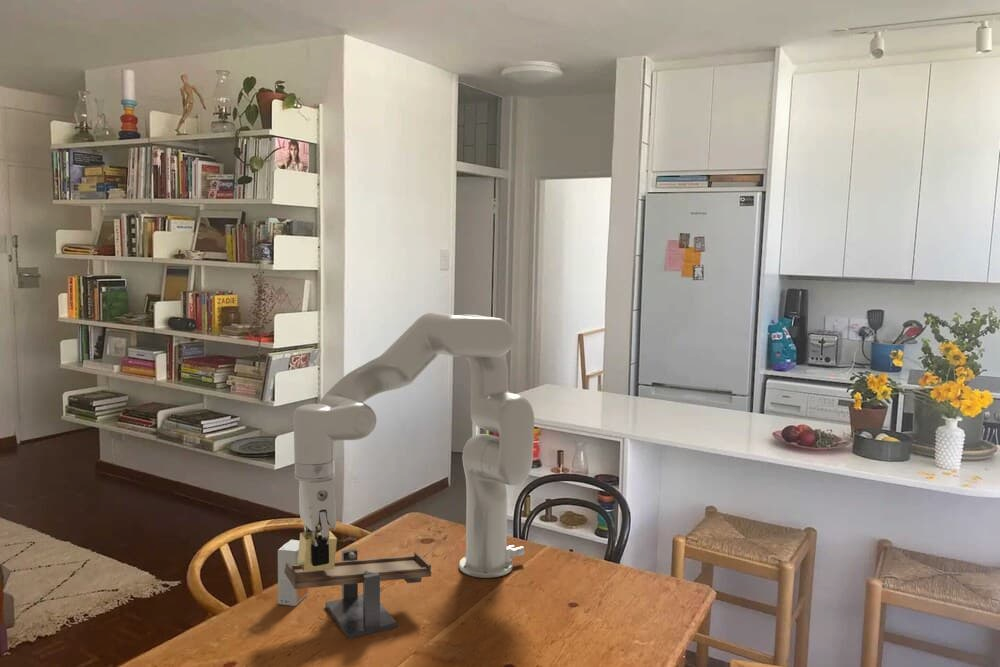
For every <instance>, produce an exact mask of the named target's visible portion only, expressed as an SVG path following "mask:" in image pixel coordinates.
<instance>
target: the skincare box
mask: <svg viewBox="0 0 1000 667" xmlns="http://www.w3.org/2000/svg"><path fill="white" fill-rule="evenodd" d="M299 541H300V539H299V540H297V539H290V540H289V541H287V542H286V543H284V544H283V545H282V546H281V547H280V548H279V549H277V603H278V605H283V606H284V605H285V606H291V607H296V606H298V605H299V603H301V602H302V600H304V599H305V598H306V597H307V596H308V595H309V588H302V589H295V588H294V587H293V585H292V584H291V582H290V581H289V579H288V578H287V576H286V574H285V573H284V570H285V567H286V563H287V562H289V563H290V565H299V564H298V563H297V562H298V551H299Z"/></svg>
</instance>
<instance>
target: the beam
mask: <svg viewBox="0 0 1000 667" xmlns="http://www.w3.org/2000/svg"><path fill="white" fill-rule="evenodd" d="M348 556H349V558H350V559H351V560H350V561H342V560H339V561H335V565H334V569H325V570H313V571H303V570H302V568H301V567H300V566H299V565H290V563H289V562H287V563H286V567H285V570H284V573H285V574H286V576H287V578H288V579H289V581H290V582H291V584H292V585H293V587H294V588H295V589H302V588H308V589H310V588H320V587H321V588H322V587H323V588H324V587H331V586H332V587H333V586H342V585H345V584H356V583H358V584H363V575H368V574H373V573H379V574H380V582H385V581H396V580H397V581H398V580H404V581H405V582H406V584H412V583H416V584H417V583H422V578H429V577H430V578H431V577H432V571H431V569H432V565H431V564H430V562H429V561H427V560H426V559H425V558H424V557H422V555H421V554H419V552H414V555H403V556H391V557H390V556H389V557H378V558H366V559H364V558H363V559H357V560H355V559H356V555H355V554H354V553H353V552H350V553H349V555H348Z"/></svg>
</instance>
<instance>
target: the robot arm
mask: <svg viewBox="0 0 1000 667" xmlns="http://www.w3.org/2000/svg"><path fill="white" fill-rule="evenodd" d="M514 332H515V331H514V329H513V327H512V326H511V324H510V323H509V322H508V321H506V320H505V319H503V318H499V317H492V316H484V315H479V314H465V313H464V314H459V315H458V314H457V315H455V314H449V313H441V312H427V313H424V314H423V315H421V316H419V317H418V318H417V319H416V320H415V321H414V322H413V323H412V324H411V326H409V327H408V328H407V329H406V330H405V331H404V332H403V333H402V334H401V336H399V337H398V338H397V339H396V340H395V341H394V342H393V343H392V344H391V345H390V346H389V347H387V349H386V350H385V351H384V352H383V353H382V354H380V355H379V356H378V357H376V358H374V359H371V360H369V361H367V362H366V363H364V364H363V365H360V366H358V367H357V368H355V369H354V370H351V371H350V372H348V373H347V374H345V375H344V376H343V377H342V378H341V379H339V380H338V381H337V382H336V383H335V384H334V385H333V386H332V387H331V388H330V389H329V390H328V391H327V392H326V393H325V394H324V395H323V396H322V398H321V399H320V401H319V402H318V403H309V404H304V405H300V406H298V407H296V409H295V410H294V412H293V443H294V444H293V448H294V450H293V451H294V454H293V455H294V478H295V480H297V481H298V486H299V487H298V510H299V517H300V519H301V521H302V522H303V524H304V526H303V533H305V532H312V534H313V546H312V565H313V566H319V565H324V564H328V563H329V537H330V533H329V531H330V528H331V530H335V529H336V527H337V513H336V512H337V510H336V501H335V500H336V499H335V498H336V497H335V496H336V495H335V490H334V489H335V488H334V482H333V481H334V480H333V478H334V477H335V476H336V472H335V471H336V469H335V468H336V466H335V465H336V464H335V463H336V462H335V461H336V460H335V442H337V441H338V442H339V441H358V440H362V439H364V438H365V439H366V438H367V437H368V436H370V435H371V434H372V432H374V430H375V428H376V425H377V414H376V413H375V410H374V409H373V408H372V407H371V406H369V405H368V404H366V403H364V402H366V401H367V400H369V399H371V398H372V397H374V396H376V395H379V394H381V393H385V392H389V391H393V390H399V389H401V388H405V387H406V386H409V385H411V384H412V383H413V382H415V380H417V378H418V377H419V376H420V375H421V374H422V373H423V372H424V371H425V370H426V369H427V368H428V366H429V365H430V364H431V363H433V361H434V360H436V358H437V357H438V356H439V355H445V356H450V357H451V356H452V357H458V358H466V360H467V361H468V364H469V367H470V379H471V380H470V406H469V407H470V408H469V410H470V413H469V415H470V420H471V422H472V423H473V425H475V426H476V427H478V428H480V429H482V430H484V431H488V432H492V433H495V434H498V435H499V436H496V435H493V434H489V433H488V434H486V433H479V434H475V435H474V436H471V437H470V438H469V439H468V440H467V441H466V442H465V444H464V447H463V450H462V457H461V458H462V465H463V472H464V475H465V485H466V486H465V487H466V488H465V489H466V490H465V491H466V494H465V495H466V501H465V502H466V504H465V505H466V510H465V512H466V513H465V518H466V519H465V556H463V557H462V558H461V559H460V560H459V564H458V566H459V570H460V571H461V572H462V573H463V574H466V575H467V576H470V577H475V578H483V579H493V578H498V577H501V576H502V577H503V576H505V575H507V574H509V573H510V572H512V570H513V569H514V563H513V560H512V559H514V558H515V557H516V556H517V557H518V556H523V555H525V553H526V550H525V547H524V546H517V547H515V545H514V544H512V545H507V543H508V542H507V540H508V539H507V538H508V537H507V536H508V529H507V528H508V491H507V490H508V489H507V485H508V486H518V485H521V484H522V483H524V482H525V481H526V480H527V479H528V477H529V476H530V473H531V471H532V467H533V462H534V461H533V458H534V438H535V412H534V409H533V407H532V404H531V403H530V402H529V400H528V399H527V398H526V397H525V396H523V395H520V394H517V393H512V392H510V390H509V366H508V362H507V361H508V360H507V359H506V356H505V355H506V354H507V353H509V351H510V350H511V349H512V347H513V346H514V342H515V333H514ZM329 527H330V528H329ZM320 532H321V534H320V535H319V536H318V538H317V533H320Z"/></svg>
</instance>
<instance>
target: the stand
mask: <svg viewBox="0 0 1000 667" xmlns="http://www.w3.org/2000/svg"><path fill="white" fill-rule="evenodd" d="M350 552H353V553H354V554H355V555H356V559H355V560H358V549H357V548H352V549H351V548H350V549H346V550H341V561H350V560H351V559H350V558H349V556H348V555H349V553H350ZM358 584H359V583H356V584H345V585H341V595H342V598H341V599H335V600H330V601H326V602H325V608H326V610H327V611H328V612H329V614H330V615H331V617H332V619H334V621H335V623H336V624H337V625H338V627H339V628H340V630H341V631H342V633H343V634H344V635H345V637H346V639H348V640H350V639H354V638H358V637H364V636H366V635H371V634H374V633H380V632H383V631H387V630H392V629H397V628H398V622H397V620H396V619H395V618H394V617H393V616H392V615H391V613H390V612H389V611H388V610H387V609H386V608H385V606H384V605H383V604H382V603H381V581H380V574H379V573H373V574H368V575H363V583H362V594H359V591H358V590H359V589H358V588H359V587H358Z"/></svg>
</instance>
